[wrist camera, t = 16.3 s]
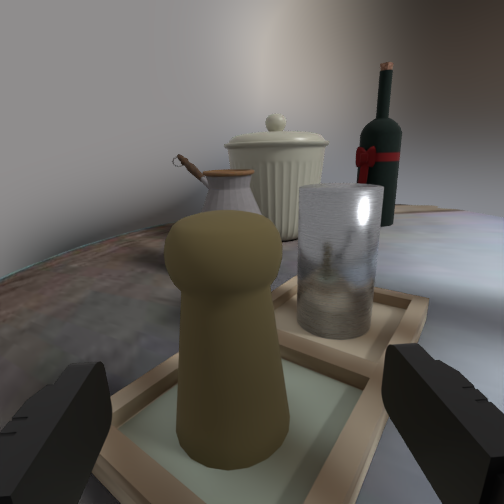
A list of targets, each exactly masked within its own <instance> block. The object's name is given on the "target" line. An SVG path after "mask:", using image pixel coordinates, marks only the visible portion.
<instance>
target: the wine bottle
mask: <svg viewBox="0 0 504 504" xmlns="http://www.w3.org/2000/svg"><path fill="white" fill-rule="evenodd" d="M380 66H381V71H380V77H379V89H378V101H377V113H376V119H374V120H373V121H371V122H370V123H368V124H367V125H366V126H365V127H364V129H363V130H362V133H361V135H360V147H358V148H357V151H356V166H357V167H358V173H357V183H359V184H372V185H379V186H383V187H384V193H383V204H382V214H381V224H380V227H382V226H390V225H392V224H393V219H394V209H395V199H396V189H397V178H398V168H399V157H400V147H401V137H402V131H401V128H400V126H399V125H398V124H397V123H396V122H395V121H394V120H392V119H390V118H388V115H389V105H390V94H391V83H392V72H393V70H392V67H393V63H391V62H386V63H383V64H380Z"/></svg>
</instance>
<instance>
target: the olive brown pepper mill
mask: <svg viewBox="0 0 504 504" xmlns="http://www.w3.org/2000/svg"><path fill="white" fill-rule="evenodd" d="M164 259H165V266H166V268H167V271H168V273H169V276H170V278H171V280H172V281H173V283H174V284H175V286H176V287H177V288H178V289H179V290H180V291H181V313H180V338H179V363H178V388H177V414H176V434H177V437H178V440H179V444H180V446H181V447H182V449H183V450H184V451H185V452H186V453H187V455H188V456H189V457H190V458H191V459H193V460H194V461H196V462H198V463H200V464H202V465H204V466H206V467H208V468H214V469H220V470H226V471H230V470H236V469H243V468H249V467H251V466H254V465H256V464H258V463H260V462H262V461H264V460H266V459H268V458H269V457H270V456H271V455H272V454H273V453H274V452H275V451H276V450H278V449H279V448H280V447H281V446H282V444H283V442H284V440H285V438H286V436H287V434H288V432H289V423H290V413H289V406H288V400H287V393H286V386H285V380H284V373H283V367H282V360H281V353H280V347H279V340H278V334H277V327H276V320H275V314H274V307H273V301H272V294H271V287H270V285H271V284H272V283H273V281H274V280H275V279H276V277H277V275H278V271H279V268H280V264H281V260H282V242H281V238H280V234H279V232H278V230H277V228H276V227H275V225H274V224H273V222H272V221H271V220H270V219H268V218H266V217H265V216H263V215H260V214H257V213H252V212H246V211H239V210H215V211H208V212H202V213H199V214H195V215H191V216H188V217H184V218H182V219H180V220H179V221H177V222H176V223H175V224H173V226H172V228H171V230H170V232H169V234H168V236H167V238H166V240H165V247H164Z"/></svg>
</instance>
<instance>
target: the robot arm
mask: <svg viewBox="0 0 504 504" xmlns="http://www.w3.org/2000/svg"><path fill="white" fill-rule="evenodd" d="M381 395H382V401H383V404H384V407H385V410H386V412H387V414H388V415H389V417H390V419H391V420H392V422H393V424H394V425H395V427H396V428H397V430H398V432H399V433H400V435H401V437H402V438H403V440H404V442H405V443H406V445H407V446H408V448H409V450H410V451H411V453H412V455H413V456H414V458H415V460H416V461H417V463H418V464H419V466H420V468H421V469H422V471H423V473H424V474H425V476H426V478H427V479H428V481H429V482H430V484H431V486H432V487H433V489H434V491H435V492H436V494H437V496H438V497H439V499H440V501H441V502H442V504H504V414H503V413H502V412H501V411H500V410H499V409H498V408H497V407H496V406H495V405H494V404H493V403H492V402H488V399H487V398H486V397H485V396H484V395H483V394H482V393H481V392H480V391H479V390H478V389H475V388H474V385H473V384H472V383H470V382H469V381H468V380H467V379H466V378H465V377H464V376H463V375H462V374H461V373H460V372H459V371H457V370H455V369H454V368H452V367H450V366H448V365H447V364H445V363H443V362H442V361H440V360H434V359H433V358H432V357H431V356H430V355H429V354H428V353H427V352H426V351H425V350H424V349H423V348H422V347H421V346H420V345H419V344H417V343H405V344H390V345H388V346H387V348H386V352H385V360H384V369H383V377H382V386H381ZM111 422H112V403H111V398H110V393H109V388H108V382H107V377H106V372H105V367H104V365H103V363H102V362H87V363H72V364H70V365H68V367H67V368H66V369H65V370H64V372H63V373H62V374H61V375H60V377H59V378H58V379H57V381H56V382H55V383H54V384H50V385H46V386H45V387H44V388H42V389H41V390H40V391H38V392H37V393H36V394H34V395H33V396H32V397H30V398H29V399H28V400H27V401H26V402H25V403H24V404H23V405H22V407H21V408H20V409H19V410H18V411H17V413H16V414H15V415H14V416H13V417H12V421H9V422H8V423H7V425H6V426H5V427H4V428H3V429H2V431H1V432H0V504H78V502H79V500H80V497H81V495H82V493H83V490H84V488H85V486H86V484H87V481H88V479H89V477H90V474H91V472H92V470H93V468H94V465H95V463H96V461H97V458H98V456H99V454H100V452H101V449H102V447H103V445H104V442H105V440H106V438H107V436H108V433H109V430H110V427H111Z"/></svg>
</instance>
